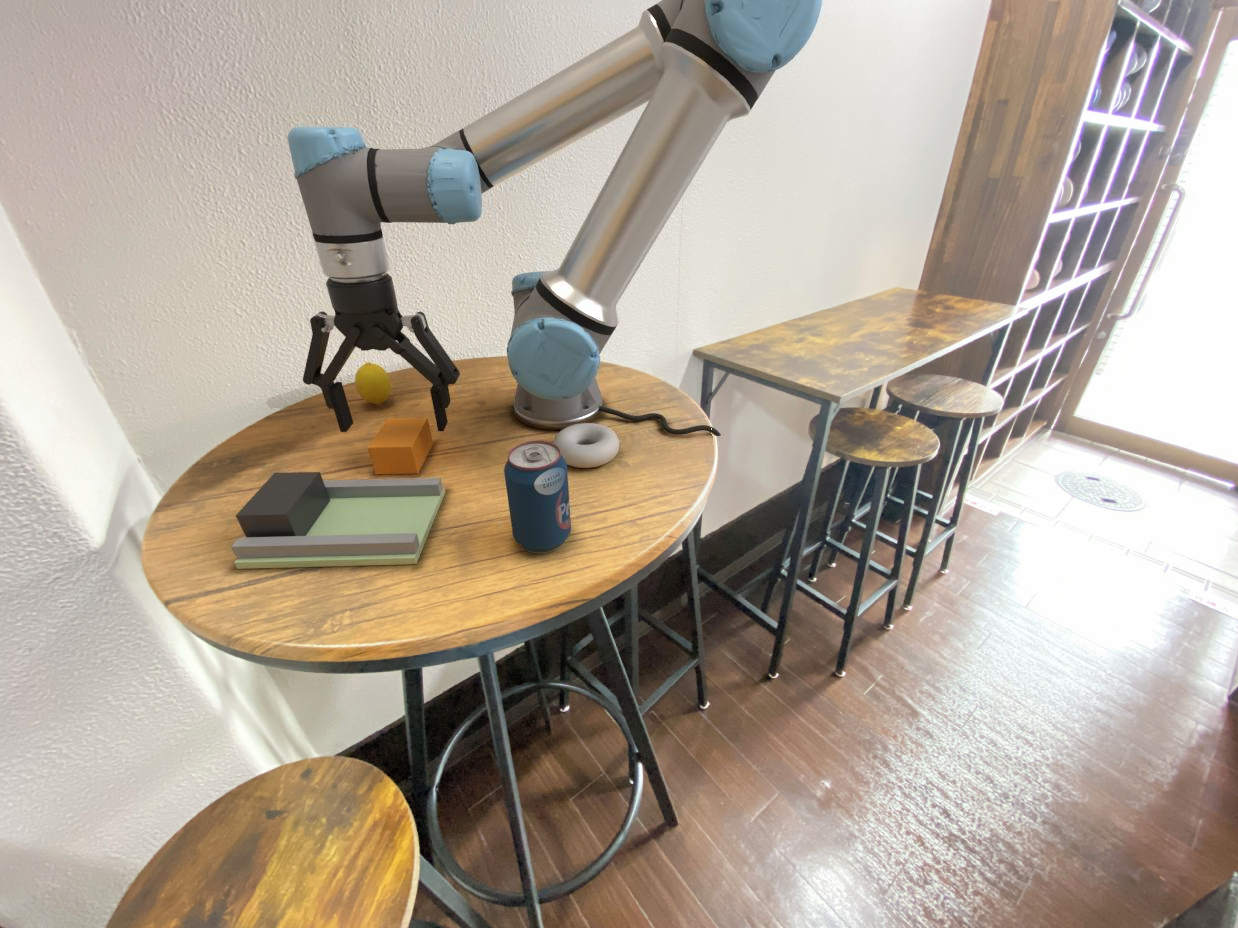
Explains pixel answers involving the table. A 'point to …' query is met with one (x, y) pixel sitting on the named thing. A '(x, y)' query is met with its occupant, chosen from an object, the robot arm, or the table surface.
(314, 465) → the table surface
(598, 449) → the donut
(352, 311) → the robot arm
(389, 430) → the matte orange brick
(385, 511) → the board
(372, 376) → the lemon
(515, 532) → the soda can
